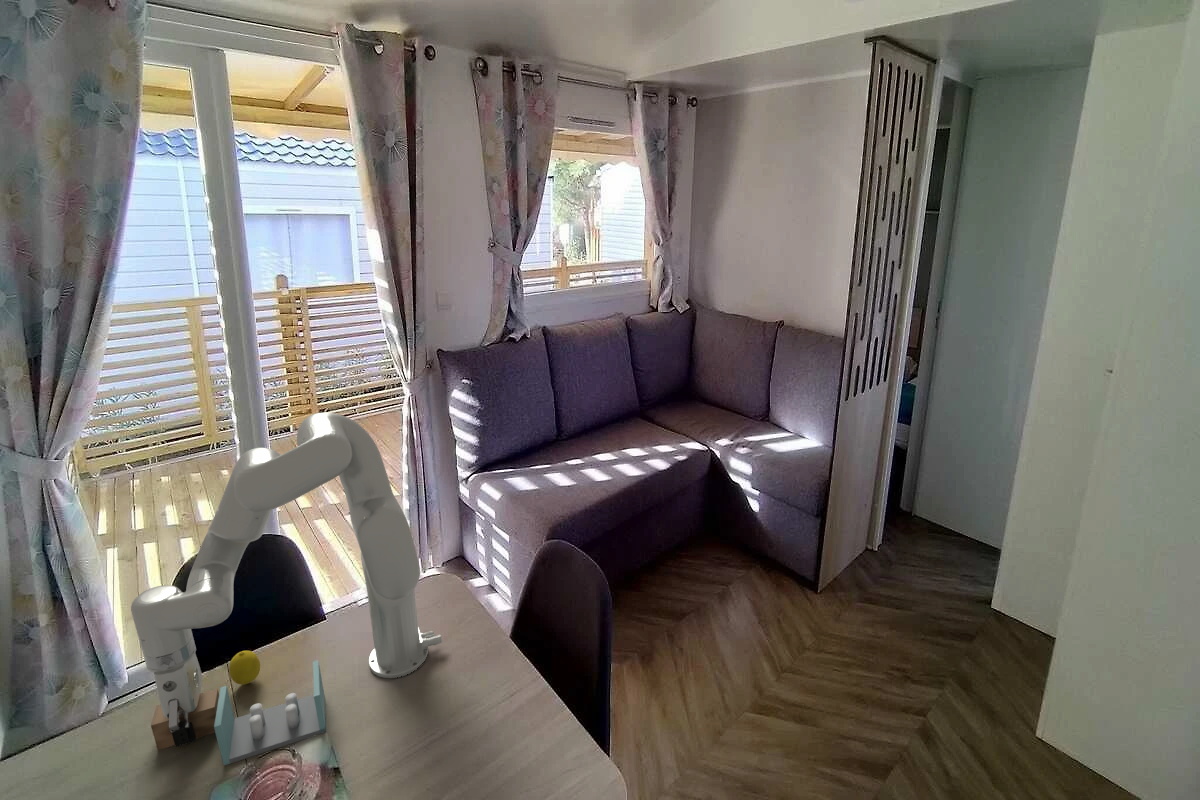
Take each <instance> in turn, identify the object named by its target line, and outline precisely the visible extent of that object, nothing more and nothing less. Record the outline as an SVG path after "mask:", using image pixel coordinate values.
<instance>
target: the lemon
mask: <svg viewBox="0 0 1200 800" xmlns="http://www.w3.org/2000/svg"><path fill="white" fill-rule="evenodd" d="M228 669H229V670H228V672H229V676H230V678H231V680H232V681H233V682H234V683H235V684H238V685H242V686H244V685H248V684H250V683H252V682H253V681H255V679H257V678H258V676H259V674H260V671H261V662H260V659H259V657H258V655H257V654H256V653H255V652H253V651H252V650H242V651H239V652H237V653H236V654H235V655H233V657H232V658H231V660H230V662H229V667H228Z"/></svg>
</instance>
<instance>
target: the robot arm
mask: <svg viewBox="0 0 1200 800" xmlns="http://www.w3.org/2000/svg"><path fill="white" fill-rule="evenodd" d="M296 443H297V446H295V447H294V448H291V449H290V450H288V451H285V452H284V453H282V454H280V453H279V452H277V451H276V450H274V449H271V448H268V447H255V448H252V449H249V450H247V451H245V452H244V453H243V454H242V455H241V456H240V457H239V458H238V459H237V461H236V463H235V465H234V467H233V469H232V472H231V474H230V477H229V479H228V482H227V484H226V487H225V489H224V491H223V494H222V497H221V499H220V502H219V503H218V507H217V508H216V512H215V514H214V515H213V519H212V522H211V523H210V526H209V528H208V530H207V533H206V535H205V537H204V538H203V541H202V543H201V545H200V546H199V547H200V548H199V550H198V553H197V554H196V555H197V556H196V558H195V560H194V562H193V564H192V566H191V567H192V568H191V569H190V573H189V576H188V579H187V583H186V590H185V591H184V592H183V591H182V590H181V589H180V588H179V587H177V586H176V585H170V584H169V585H168V584H164V585H157V586H154V587H151V588H149V589H146V590H144V591H143V592H141V593H140V594H138V595H137V596H136V597H134V599H133V601H132V602H131V606H130V611H131V612H130V613H131V616H132V620H133V623H134V627H135V631H136V634H137V637H138V641H139V644H140V648H141V651H142V655H143V658H144V662H145V665H146V669H147V670H148V671H149V672H152V673H154V680H155V686H156V690H157V695H158V700H159V705H161V708H162V712H163V714H164V716H165V717H166V718H169V728H170V730H171V733H172V736H173V740H174V743H175V745H174V746H175V747H176V748H177V747H181V746H184V745H187V744H191V743H194V742H195V741H196V740H197V738H196V735H195V731H194V728H193V724H192V722H191V723H190V719H189V712H191V711H194V710H195V709H196V707H197V705H198V700H199V696H200V693H201V691H202V686H203V673H202V670H201V667H200V663H199V661H198V657H197V654H196V651H197V647H196V644H195V640H194V639H195V638H194V636H193V631H192V629H202V628H203V629H204V628H209V627H214V626H217V625H219V624H222V623H223V622H224V621H226V620H227V619H228V618H229V617H230V615H231V614H232V611H233V608H234V593H235V592H234V581H235V577H236V572H237V570H238V567H239V566H240V565H239V564H240V562H241V559H242V558H243V555H244V553H245V551H246V548H248V545H249V544H250V543H251V542H255V541H257V540H259V539H260V538H261V537H262V536H263V534H264V532H265V529H266V527H267V525H268V521H269V518H270V516H271V513H272V511H273V510H275V509H277V508H281V507H282V506H284V505H287V504H288V503H291V502H293V501H295V500H297V499H299V498H300V497H303V496H304V495H306V494H308V493H310V492H311V491H314V490H315V489H318V488H319V487H321V486H323V485H324V484H327V483H328V482H330V481H332V480H334V479H335V478H337V477H339V480H340V483H341V485H342V487H343V491H344V494H345V495H344V496H345V497H346V502H347V505H348V510H349V515H350V516H349V517H350V522H351V523H350V524H351V525H352V530H353V532H354V534H355V538H356V541H357V543H358V546H359V549H360V560H361V566H362V571H363V576H364V581H365V588H366V592H367V593H366V595H367V602H368V609H369V616H370V624H371V630H372V632H371V633H372V639H373V646H374V649H372V651H371V653H370V655H369V658H368V667H369V669H370V672H372V673H373V674H374V675H376V676H377V677H379V678H384V679H397V677H398V678H401V676H402V677H406V676H407V674H408V675H410V674H412V673H414V672H415V671H416V670H418V669H419V668H420V667H421V666H422V665H423V664H424V663H425V662H424V661H426V660H427V658H428V656H427V654H428V655H429V648H428V647H431V646H432V647H433V646H437V645H439V644H440V645H441V644H442V643H443V641H442V636H441V634H437V635H435V634H434V630H430V631H427V632H424V633H423V632H421V631H420V627H419V621H418V612H417V602H416V592H415V589H416V586H418V583H419V580H420V577H421V567H420V561H419V559H418V558H419V557H418V554H417V550H416V547H415V542H414V538H413V535H412V532H411V529H410V525H409V522H408V519H407V517H406V514H405V513H404V511H403V509H402V507H401V505H400V503H399V502H398V500H397V498H396V497H395V495H394V493H393V490H392V486H391V483H390V480H389V477H388V472H387V470H386V468H385V464H384V462H383V458H382V455H381V453H380V450H379V447H378V446H377V444H376V442H375V440H374V439H373V438H372V436H371V435H370V433H369V432H368V431H367V430H366V429H365V428H364V427H363V426H362V425H360V424H359V423H358V422H356V421H355V420H353V419H351V418H349V417H347V416H345V415H343V414H338V413H334V412H316V413H313V414H311V415H308V416H307V417H305V419H304V420H303V421H302V422H301V424H300V425H299V427H298V430H297V435H296ZM426 657H427V658H426ZM425 659H426V660H425ZM423 662H424V663H423ZM422 663H423V664H422ZM421 664H422V665H421ZM420 665H421V666H420ZM419 666H420V667H419ZM418 667H419V668H418ZM417 668H418V669H417ZM415 669H416V670H415ZM414 670H415V671H414ZM413 671H414V672H413ZM411 672H412V673H411ZM179 707H181V708H182V709H183V710H181V711H179ZM182 714H184V719H185V721H181V722H180V720H179V715H182Z"/></svg>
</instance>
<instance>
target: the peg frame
mask: <svg viewBox="0 0 1200 800" xmlns="http://www.w3.org/2000/svg"><path fill="white" fill-rule="evenodd" d="M312 669H313V670H312V673H313V674H312V677H313V683H312V684H313V694H311V695H307V696H304V697H301V698H298V695H297V693H294V692H291V693H288V694H287V695H286V696H285V698H284V700H285V702H284V703H281V704H278V705H275V706H271V707H268V708H265V709H263V705H262V703H255V704H253V705H251V706H250V708H249V711H250V713H248V714H244V715H241V716H238V717H235V715H234V710H233V706H232V702H231V699H230V693H229V689H228V686H227V685H224V686H221V687H219V689H220V690H219V700H218V706H217V712H216V718H215V724H214V729H215V733H214V734H215V737H216V740H217V744H218V748H219V752H220V756H221V760H222V764H223V766H227V765H230V764H233V763H236V762H239V761H242V760H244V759H248V758H251V757H255V756H257V755H260V754H263V753H266V752H268V751H273V750H276V749H278V748H279V749H280V748H281V747H284V746H288V745H290V744H294V743H297V742H300V741H302V740H306V739H309V738H312V737H315V736H318V735H321V734H325V733H326V732H327V721H326V718H327V717H326V699H325V690H324V686H323V679H322V673H321V667H320V662H319V659H317V660H313V661H312Z"/></svg>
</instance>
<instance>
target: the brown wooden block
mask: <svg viewBox="0 0 1200 800" xmlns="http://www.w3.org/2000/svg"><path fill="white" fill-rule="evenodd" d="M219 694H220V691H219V689H218V688H214V689H211V690H207V691H204V692H200V696H199V700H198V705H197V707H196V709H195V710H194V711H191V712H189V719H190V723H191V722H192V724H193V728H194V731H195V735H196V739H199V738H202V737H205V736H209V735H211V734H216V733H215V729H214V724H215V718H216V712H217V706H218V700H219ZM181 710H183V709H182V708H181V707H179V711H181ZM151 720H152V721H151V724H150V727H151V730H152V731H151V732H152V735H153V739H154V741H155V745H156V748H157V751H159V750H163V749H166V748H169V747H173V746H175V743H174V740H173V736H172V733H171V730H170V728H169V718H166V717H165V716H164V714H163V712H162V708H161V705H160V704H158V705H156V707H155V710H154V713H153V717H152V719H151ZM179 720H180V722H181V721H185V719H184V714H182V715H179Z"/></svg>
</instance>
